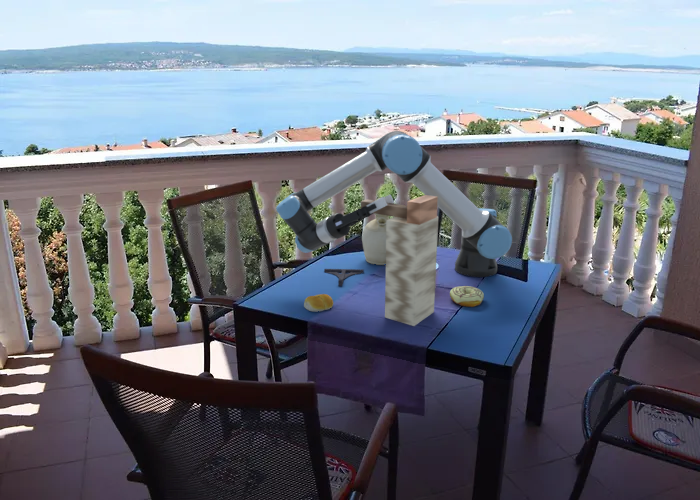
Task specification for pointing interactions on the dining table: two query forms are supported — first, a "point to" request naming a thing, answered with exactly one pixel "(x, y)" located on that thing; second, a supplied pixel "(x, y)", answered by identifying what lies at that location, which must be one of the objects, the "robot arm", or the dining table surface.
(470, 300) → the decorated donut
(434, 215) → the wooden mallet
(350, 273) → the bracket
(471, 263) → the robot arm
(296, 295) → the dining table surface
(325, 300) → the bread roll
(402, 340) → the dining table surface
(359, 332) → the dining table surface
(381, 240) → the jug
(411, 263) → the stand
